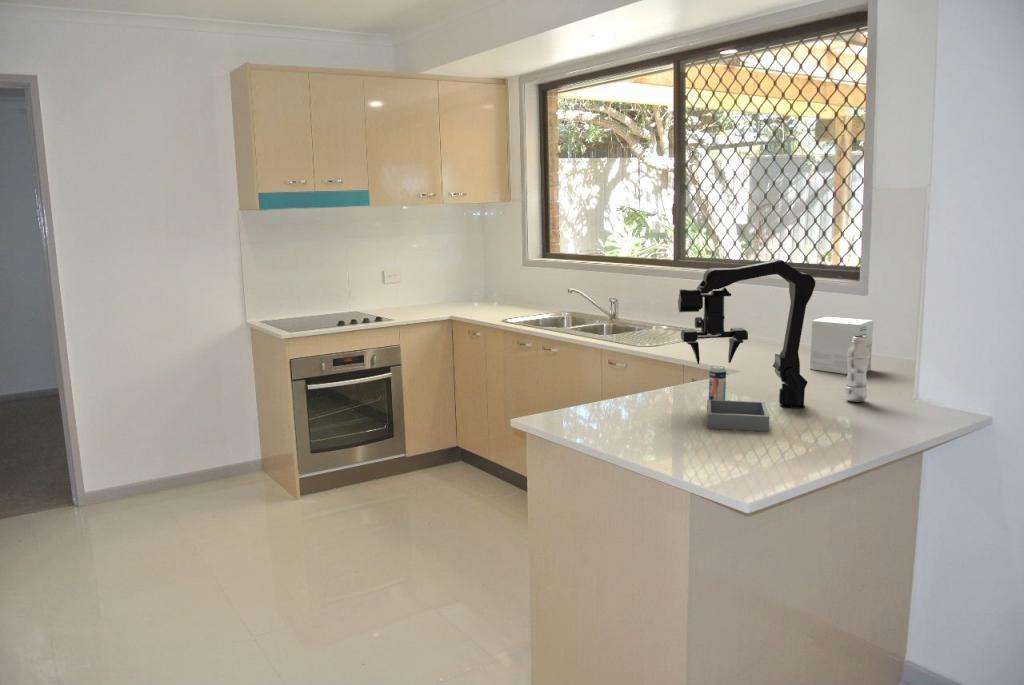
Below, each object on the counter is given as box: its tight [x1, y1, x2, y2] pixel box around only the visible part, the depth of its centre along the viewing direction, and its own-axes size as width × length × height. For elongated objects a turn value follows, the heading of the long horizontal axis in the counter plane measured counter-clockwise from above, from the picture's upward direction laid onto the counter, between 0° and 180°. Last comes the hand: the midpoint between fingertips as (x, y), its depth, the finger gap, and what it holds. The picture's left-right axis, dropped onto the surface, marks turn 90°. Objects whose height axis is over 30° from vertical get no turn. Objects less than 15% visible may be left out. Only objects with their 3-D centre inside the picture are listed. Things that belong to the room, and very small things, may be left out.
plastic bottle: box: [843, 336, 870, 403], centre depth 243 cm, size 6×7×20 cm
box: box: [706, 399, 770, 432], centre depth 225 cm, size 16×16×4 cm
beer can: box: [708, 365, 727, 400], centre depth 241 cm, size 5×5×12 cm
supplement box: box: [809, 316, 874, 375], centre depth 288 cm, size 17×13×18 cm
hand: (713, 363), depth 241 cm, fingers open, 9 cm apart
